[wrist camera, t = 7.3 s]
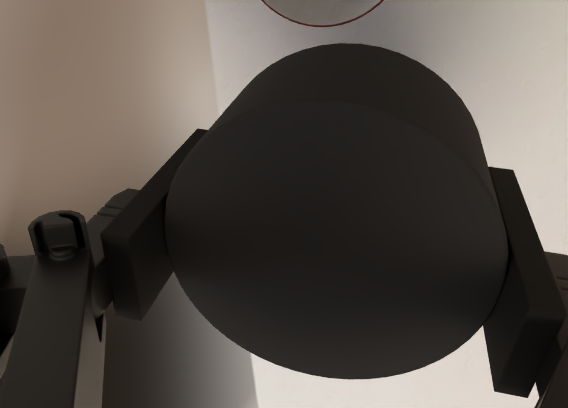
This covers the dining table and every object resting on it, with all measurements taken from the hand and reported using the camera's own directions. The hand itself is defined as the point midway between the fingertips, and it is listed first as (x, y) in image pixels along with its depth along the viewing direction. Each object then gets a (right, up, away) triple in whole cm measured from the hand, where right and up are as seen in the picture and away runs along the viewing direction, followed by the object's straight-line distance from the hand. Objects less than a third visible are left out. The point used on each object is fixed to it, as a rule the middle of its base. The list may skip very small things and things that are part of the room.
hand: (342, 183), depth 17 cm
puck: (0, 0, 0) cm, 0 cm away
